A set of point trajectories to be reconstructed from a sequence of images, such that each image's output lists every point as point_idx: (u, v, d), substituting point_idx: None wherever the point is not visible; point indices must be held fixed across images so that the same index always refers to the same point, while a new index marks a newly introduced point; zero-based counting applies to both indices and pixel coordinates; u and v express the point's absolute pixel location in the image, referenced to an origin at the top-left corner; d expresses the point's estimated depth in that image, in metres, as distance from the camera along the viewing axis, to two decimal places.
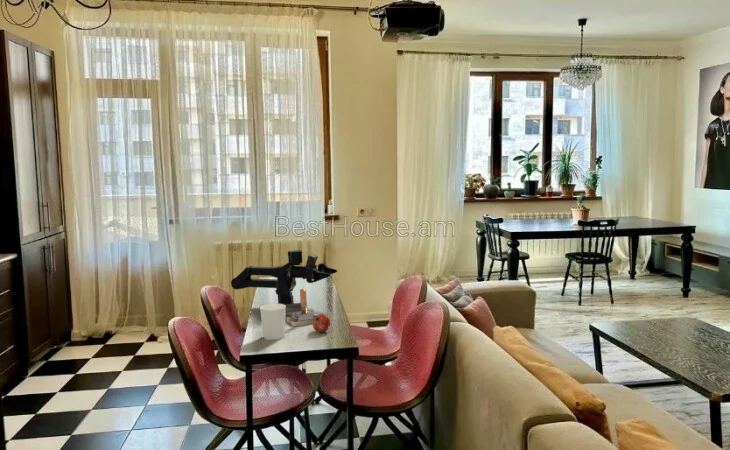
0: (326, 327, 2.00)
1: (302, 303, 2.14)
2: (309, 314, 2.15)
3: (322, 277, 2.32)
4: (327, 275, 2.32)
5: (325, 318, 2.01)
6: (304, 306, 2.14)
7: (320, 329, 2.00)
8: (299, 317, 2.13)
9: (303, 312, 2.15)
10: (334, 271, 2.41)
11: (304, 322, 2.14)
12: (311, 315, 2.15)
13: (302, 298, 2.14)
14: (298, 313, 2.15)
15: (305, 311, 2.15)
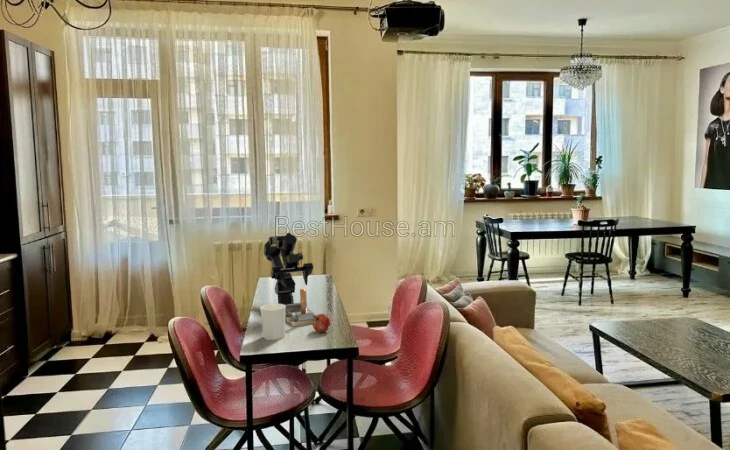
0: (326, 327, 2.00)
1: (302, 303, 2.14)
2: (309, 314, 2.15)
3: (281, 282, 2.25)
4: (284, 285, 2.23)
5: (325, 318, 2.01)
6: (304, 306, 2.14)
7: (320, 329, 2.00)
8: (299, 317, 2.13)
9: (303, 312, 2.15)
10: (305, 282, 2.27)
11: (304, 322, 2.14)
12: (311, 315, 2.15)
13: (302, 298, 2.14)
14: (298, 313, 2.15)
15: (305, 311, 2.15)
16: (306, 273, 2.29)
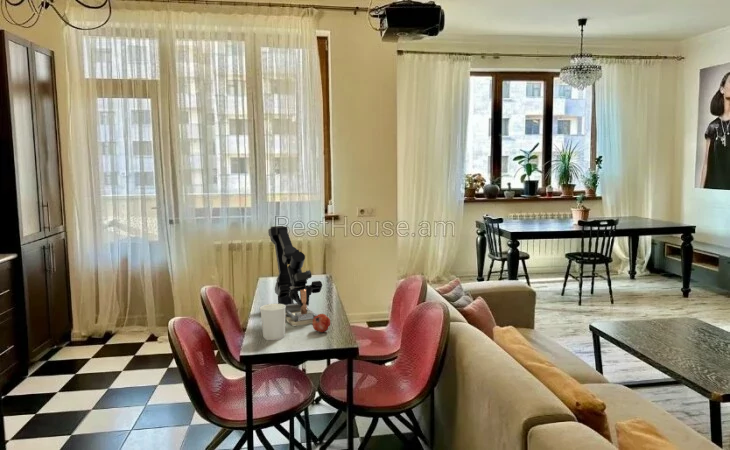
0: (326, 327, 2.00)
1: (302, 303, 2.14)
2: (309, 314, 2.15)
3: (296, 301, 2.16)
4: (299, 304, 2.14)
5: (325, 318, 2.01)
6: (304, 306, 2.14)
7: (320, 329, 2.00)
8: (299, 317, 2.13)
9: (303, 312, 2.15)
10: None
11: (304, 322, 2.14)
12: (311, 315, 2.15)
13: (302, 298, 2.14)
14: (298, 313, 2.15)
15: (305, 311, 2.15)
16: (308, 293, 2.17)
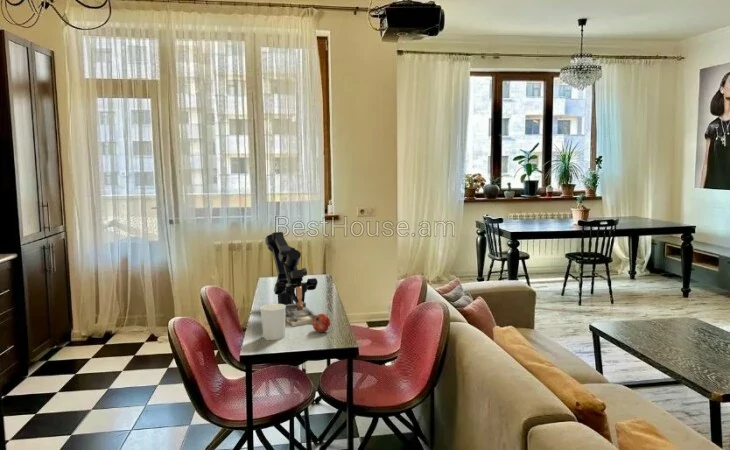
0: (326, 327, 2.00)
1: (298, 300, 2.20)
2: (305, 310, 2.21)
3: (292, 297, 2.22)
4: (295, 300, 2.20)
5: (325, 318, 2.01)
6: (300, 303, 2.20)
7: (320, 329, 2.00)
8: (295, 313, 2.19)
9: (299, 308, 2.20)
10: (302, 299, 2.21)
11: (304, 322, 2.14)
12: (306, 311, 2.21)
13: (298, 295, 2.20)
14: (294, 309, 2.21)
15: (301, 307, 2.21)
16: (303, 290, 2.23)
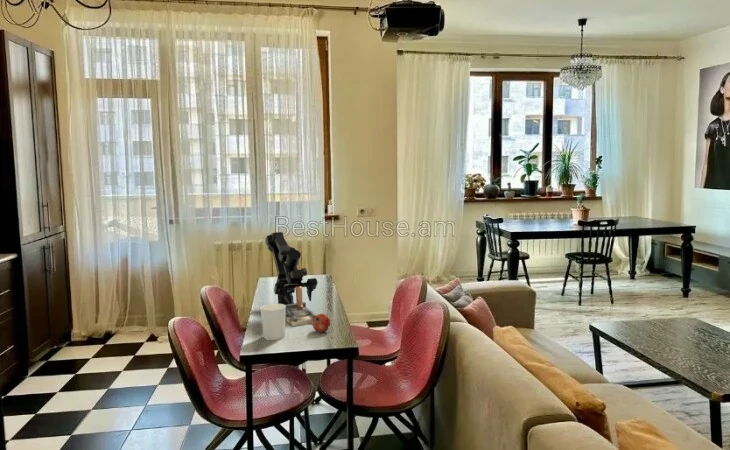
0: (326, 327, 2.00)
1: (298, 300, 2.20)
2: (304, 310, 2.21)
3: (285, 298, 2.20)
4: (288, 301, 2.19)
5: (325, 318, 2.01)
6: (300, 303, 2.20)
7: (320, 329, 2.00)
8: (295, 313, 2.19)
9: (299, 308, 2.21)
10: (309, 298, 2.23)
11: (304, 322, 2.14)
12: (306, 311, 2.21)
13: (298, 295, 2.20)
14: (294, 309, 2.21)
15: (301, 307, 2.21)
16: (310, 289, 2.24)
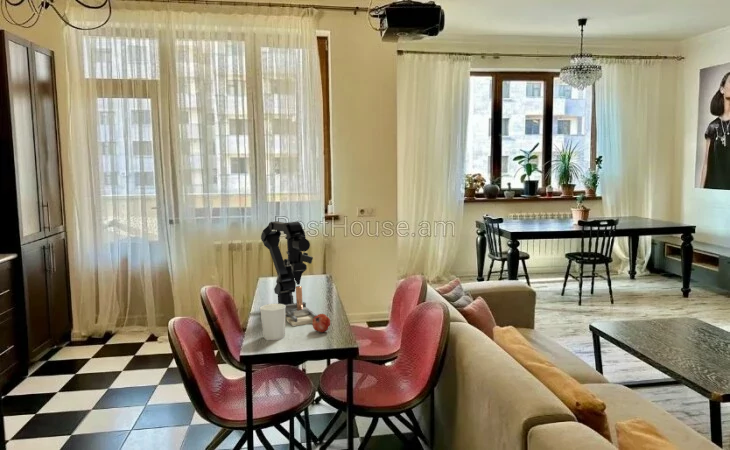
0: (326, 327, 2.00)
1: (298, 300, 2.20)
2: (304, 310, 2.21)
3: (296, 278, 2.28)
4: (298, 282, 2.30)
5: (325, 318, 2.01)
6: (300, 303, 2.20)
7: (320, 329, 2.00)
8: (295, 313, 2.19)
9: (299, 308, 2.21)
10: (292, 278, 2.38)
11: (304, 322, 2.14)
12: (306, 311, 2.21)
13: (298, 295, 2.20)
14: (294, 309, 2.21)
15: (301, 307, 2.21)
16: None
